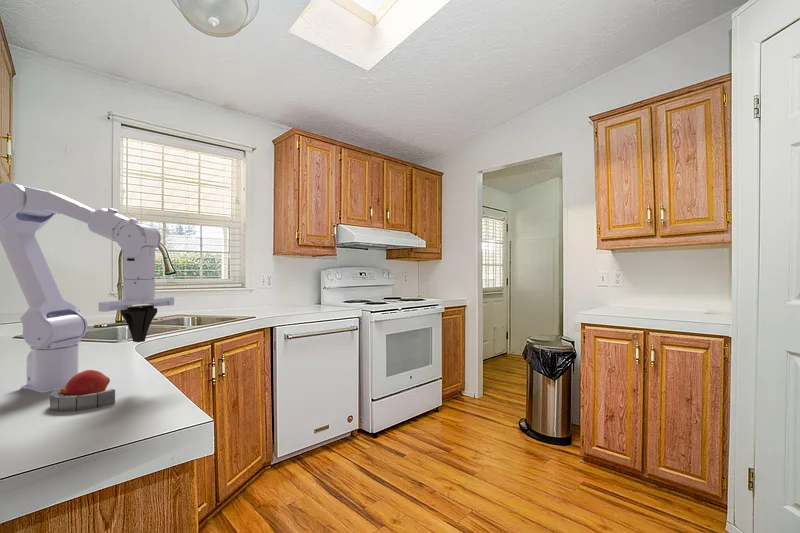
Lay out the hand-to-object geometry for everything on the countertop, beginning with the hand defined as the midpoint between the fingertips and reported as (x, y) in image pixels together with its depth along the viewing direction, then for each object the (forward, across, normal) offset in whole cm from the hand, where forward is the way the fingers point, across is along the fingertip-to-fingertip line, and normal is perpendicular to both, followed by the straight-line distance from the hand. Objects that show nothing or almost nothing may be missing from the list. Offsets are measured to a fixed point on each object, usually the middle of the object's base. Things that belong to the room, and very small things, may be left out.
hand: (138, 341), depth 83 cm
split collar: (+9, -10, -2) cm, 14 cm away
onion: (+6, -6, -2) cm, 9 cm away
